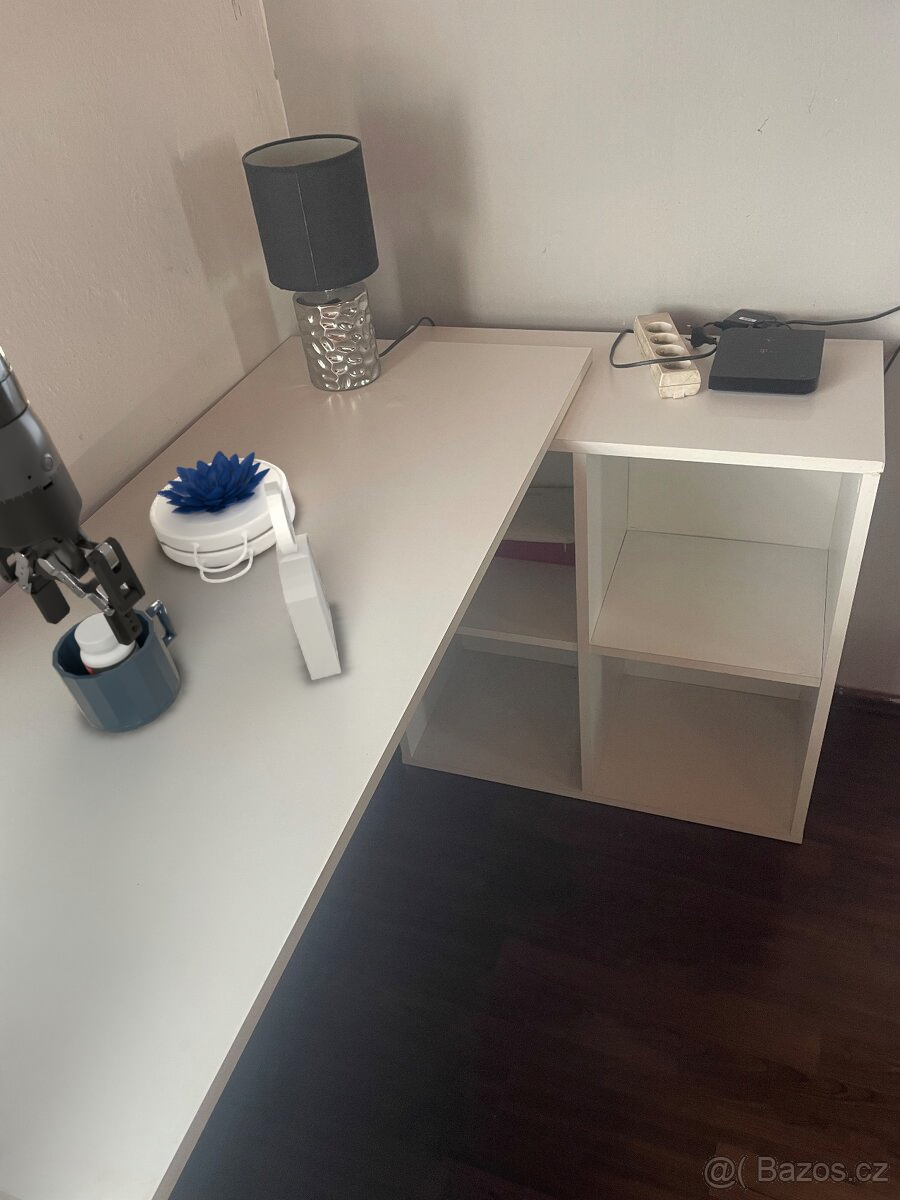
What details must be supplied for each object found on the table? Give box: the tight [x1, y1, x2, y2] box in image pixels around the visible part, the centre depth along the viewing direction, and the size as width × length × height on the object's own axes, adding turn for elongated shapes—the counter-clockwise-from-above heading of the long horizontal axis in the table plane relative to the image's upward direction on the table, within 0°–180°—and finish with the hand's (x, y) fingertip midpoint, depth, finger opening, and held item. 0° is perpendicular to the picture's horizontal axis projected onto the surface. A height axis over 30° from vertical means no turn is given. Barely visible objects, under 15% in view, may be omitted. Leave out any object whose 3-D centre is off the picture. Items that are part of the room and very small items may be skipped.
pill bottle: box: [75, 611, 140, 675], centre depth 77 cm, size 5×5×8 cm
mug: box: [51, 599, 181, 733], centre depth 79 cm, size 12×9×7 cm
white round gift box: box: [149, 450, 296, 584], centre depth 96 cm, size 7×16×20 cm
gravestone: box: [264, 481, 342, 681], centre depth 77 cm, size 3×9×18 cm, turn 12°
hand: (95, 627), depth 75 cm, fingers open, 8 cm apart
